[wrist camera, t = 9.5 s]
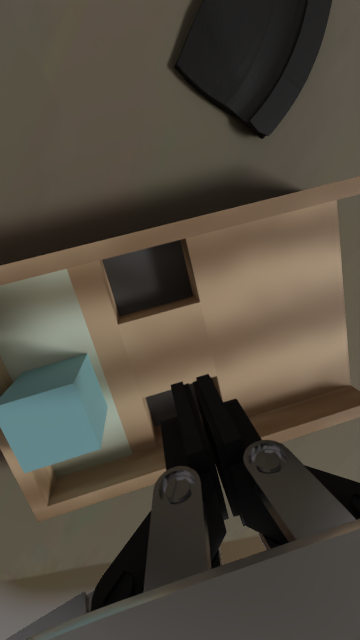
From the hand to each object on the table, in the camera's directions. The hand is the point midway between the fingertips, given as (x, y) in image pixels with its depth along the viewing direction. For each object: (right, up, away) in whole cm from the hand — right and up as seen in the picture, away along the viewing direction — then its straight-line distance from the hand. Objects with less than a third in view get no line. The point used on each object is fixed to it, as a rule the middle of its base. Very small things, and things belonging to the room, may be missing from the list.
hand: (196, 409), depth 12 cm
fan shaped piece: (+5, +24, +8) cm, 25 cm away
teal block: (-9, -1, +8) cm, 12 cm away
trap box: (-1, +2, +12) cm, 12 cm away
